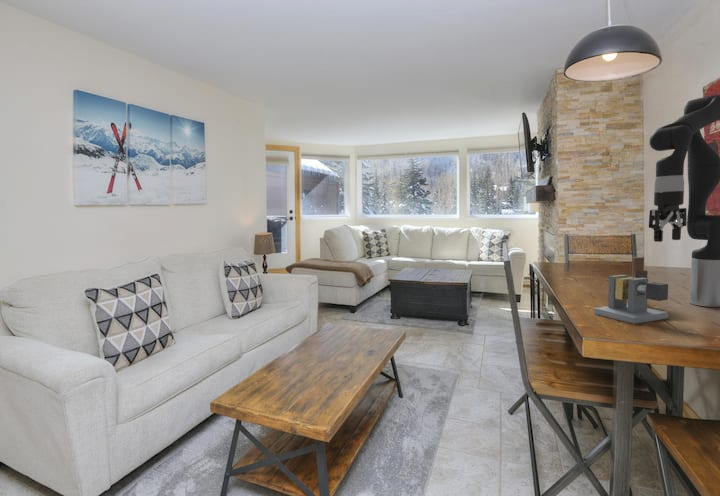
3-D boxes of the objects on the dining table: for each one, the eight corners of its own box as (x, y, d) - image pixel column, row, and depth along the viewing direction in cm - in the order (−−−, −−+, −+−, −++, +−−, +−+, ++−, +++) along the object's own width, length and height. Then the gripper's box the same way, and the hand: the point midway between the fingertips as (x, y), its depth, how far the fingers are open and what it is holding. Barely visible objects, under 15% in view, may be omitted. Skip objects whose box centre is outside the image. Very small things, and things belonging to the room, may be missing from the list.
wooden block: (634, 308, 144) (635, 259, 142) (629, 302, 153) (631, 256, 152) (646, 309, 142) (648, 260, 141) (641, 303, 152) (643, 256, 150)
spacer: (629, 296, 138) (630, 276, 137) (636, 298, 135) (637, 277, 135) (615, 298, 135) (615, 278, 135) (622, 300, 133) (622, 279, 132)
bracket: (626, 308, 144) (627, 273, 143) (667, 318, 131) (669, 278, 129) (594, 313, 138) (594, 276, 137) (633, 323, 125) (634, 282, 124)
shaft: (616, 290, 141) (617, 276, 140) (667, 299, 125) (668, 284, 124) (608, 291, 139) (608, 277, 139) (658, 300, 123) (659, 285, 123)
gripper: (671, 190, 133) (669, 238, 134) (641, 191, 128) (640, 241, 130) (696, 189, 126) (694, 240, 127) (666, 190, 121) (664, 242, 122)
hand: (667, 240), depth 128 cm, fingers open, 8 cm apart
